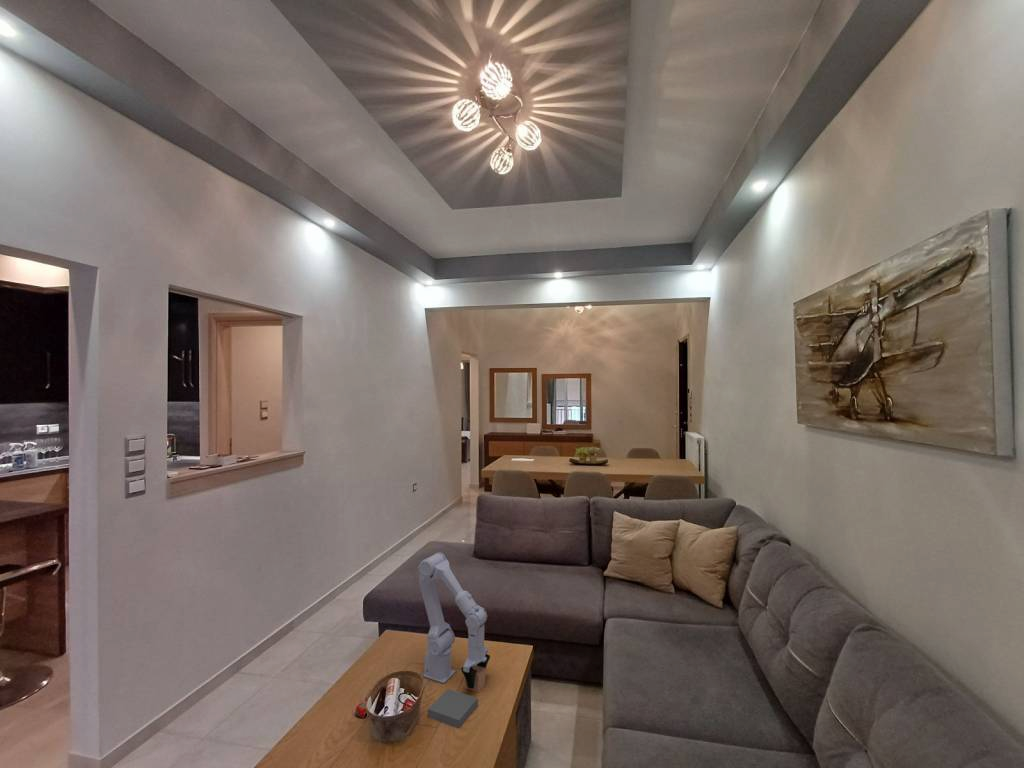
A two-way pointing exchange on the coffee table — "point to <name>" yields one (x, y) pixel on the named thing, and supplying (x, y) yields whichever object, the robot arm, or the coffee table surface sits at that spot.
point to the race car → (361, 709)
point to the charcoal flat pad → (452, 708)
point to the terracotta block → (478, 678)
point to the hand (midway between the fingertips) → (475, 681)
